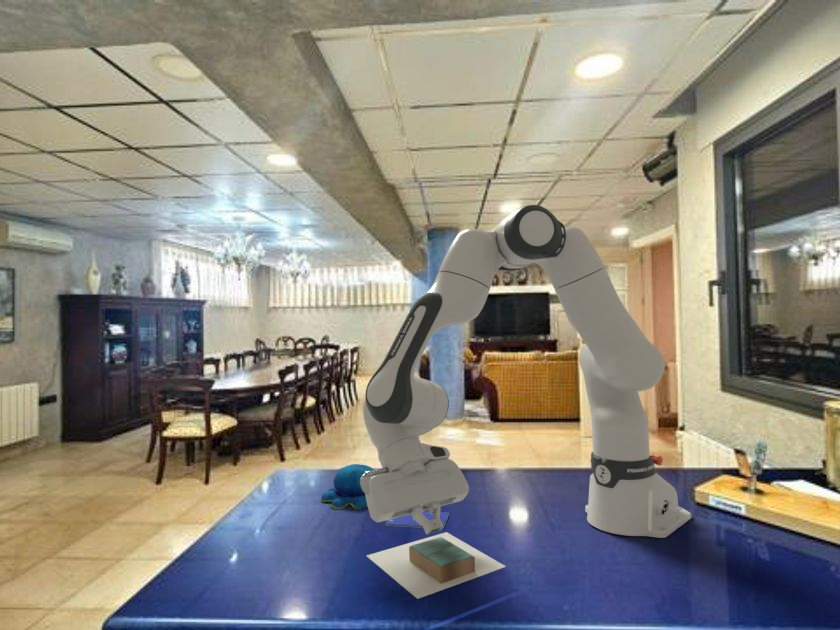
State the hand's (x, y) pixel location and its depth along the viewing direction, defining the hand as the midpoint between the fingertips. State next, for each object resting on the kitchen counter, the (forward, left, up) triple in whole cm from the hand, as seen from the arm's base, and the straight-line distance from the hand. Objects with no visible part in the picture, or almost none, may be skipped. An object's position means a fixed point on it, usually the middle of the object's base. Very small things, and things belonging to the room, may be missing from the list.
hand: (435, 531), depth 91 cm
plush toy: (-4, -41, -6) cm, 42 cm away
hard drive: (-8, -19, -7) cm, 21 cm away
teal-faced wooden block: (0, -3, -4) cm, 5 cm away
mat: (0, -1, -6) cm, 6 cm away
